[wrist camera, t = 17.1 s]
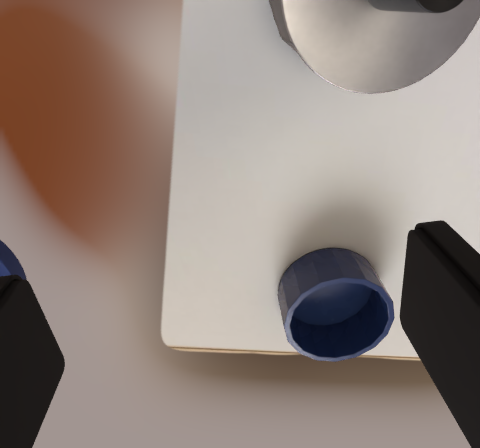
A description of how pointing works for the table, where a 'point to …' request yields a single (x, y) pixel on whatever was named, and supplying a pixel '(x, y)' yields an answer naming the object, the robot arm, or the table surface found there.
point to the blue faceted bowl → (334, 305)
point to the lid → (377, 39)
